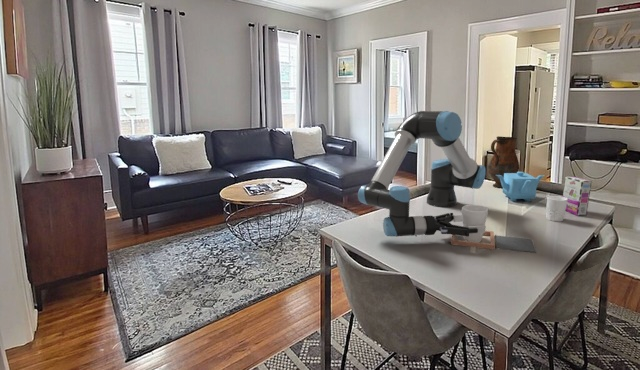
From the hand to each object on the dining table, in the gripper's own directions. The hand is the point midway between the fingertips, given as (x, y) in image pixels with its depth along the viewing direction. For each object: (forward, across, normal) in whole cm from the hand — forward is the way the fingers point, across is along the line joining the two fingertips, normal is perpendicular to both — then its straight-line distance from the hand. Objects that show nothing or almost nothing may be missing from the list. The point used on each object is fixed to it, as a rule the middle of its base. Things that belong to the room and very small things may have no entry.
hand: (476, 223), depth 151 cm
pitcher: (+51, -80, -7) cm, 95 cm away
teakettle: (+47, -53, -7) cm, 71 cm away
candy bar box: (+60, -28, -7) cm, 67 cm away
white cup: (+45, -20, -7) cm, 50 cm away
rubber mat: (+12, +6, -7) cm, 15 cm away
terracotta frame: (-1, 0, -7) cm, 7 cm away
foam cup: (-1, 0, -7) cm, 7 cm away
